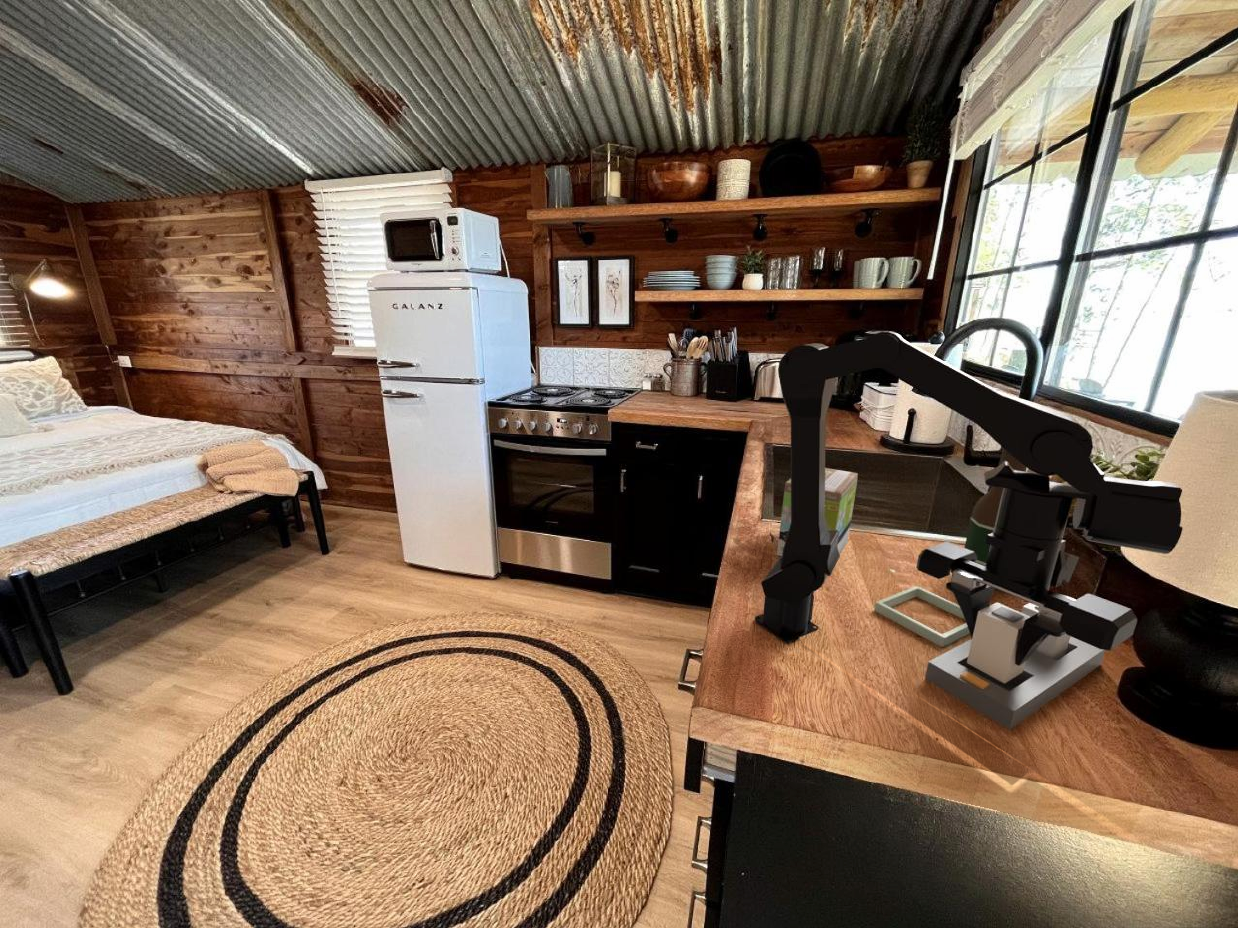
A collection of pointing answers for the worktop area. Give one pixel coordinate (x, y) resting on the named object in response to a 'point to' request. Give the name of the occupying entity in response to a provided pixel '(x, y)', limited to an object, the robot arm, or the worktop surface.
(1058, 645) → the twin plug
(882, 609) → the tray
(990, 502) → the beer bottle
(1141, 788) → the worktop surface
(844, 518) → the tea box
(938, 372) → the robot arm
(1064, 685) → the strip
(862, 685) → the worktop surface
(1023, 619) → the iec plug
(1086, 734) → the worktop surface
